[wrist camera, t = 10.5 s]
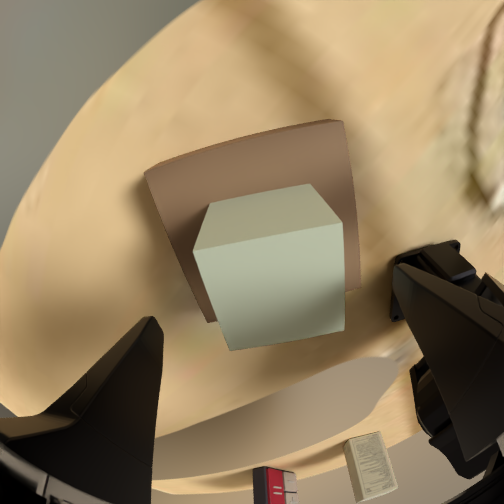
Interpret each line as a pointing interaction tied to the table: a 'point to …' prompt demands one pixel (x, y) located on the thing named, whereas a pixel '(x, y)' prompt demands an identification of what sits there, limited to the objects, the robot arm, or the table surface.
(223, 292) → the sage cube
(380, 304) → the table surface
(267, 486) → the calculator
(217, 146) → the walnut block
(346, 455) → the skincare box
